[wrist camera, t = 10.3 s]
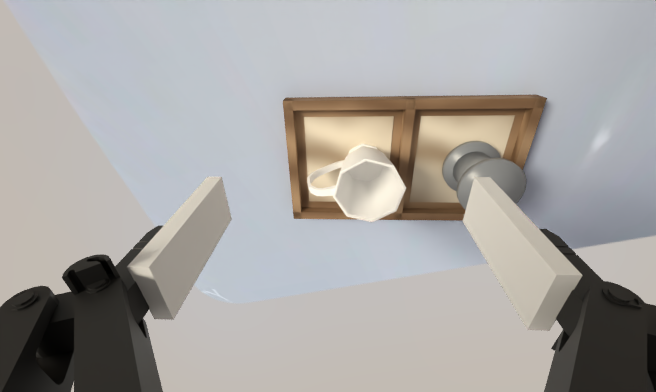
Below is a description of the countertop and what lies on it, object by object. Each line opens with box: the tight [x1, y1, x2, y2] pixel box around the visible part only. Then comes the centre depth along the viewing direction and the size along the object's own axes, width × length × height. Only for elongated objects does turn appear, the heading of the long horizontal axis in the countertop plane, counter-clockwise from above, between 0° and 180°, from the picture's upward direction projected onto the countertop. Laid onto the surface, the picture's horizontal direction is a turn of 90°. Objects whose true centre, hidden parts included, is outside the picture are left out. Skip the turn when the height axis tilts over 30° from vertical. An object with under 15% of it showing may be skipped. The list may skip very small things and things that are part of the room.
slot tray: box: [283, 95, 547, 220], centre depth 34 cm, size 15×27×2 cm, turn 91°
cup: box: [307, 143, 406, 222], centre depth 31 cm, size 7×10×8 cm
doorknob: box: [442, 141, 526, 210], centre depth 32 cm, size 6×6×6 cm
